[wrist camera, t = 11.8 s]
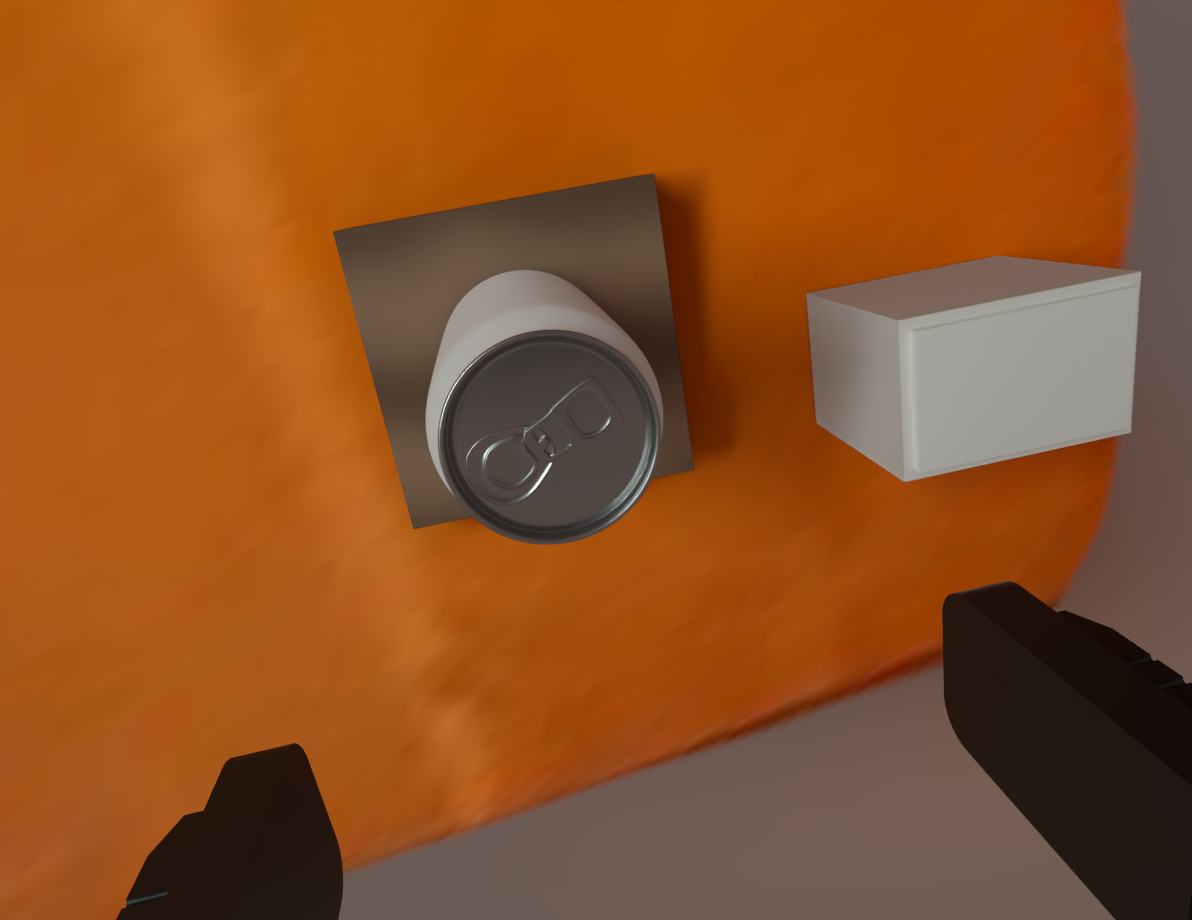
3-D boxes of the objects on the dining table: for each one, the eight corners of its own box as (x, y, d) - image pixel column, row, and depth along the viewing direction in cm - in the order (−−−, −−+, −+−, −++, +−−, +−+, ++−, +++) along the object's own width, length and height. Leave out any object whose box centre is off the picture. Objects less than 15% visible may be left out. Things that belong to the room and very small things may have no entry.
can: (407, 331, 30) (363, 413, 19) (546, 233, 30) (587, 256, 18) (506, 461, 32) (520, 605, 21) (638, 372, 32) (724, 468, 21)
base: (343, 228, 31) (332, 231, 29) (641, 175, 32) (654, 173, 30) (417, 506, 35) (413, 529, 33) (679, 451, 36) (694, 469, 34)
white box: (806, 293, 34) (904, 322, 27) (999, 255, 35) (1150, 272, 27) (816, 423, 36) (910, 485, 29) (998, 384, 37) (1139, 435, 29)
